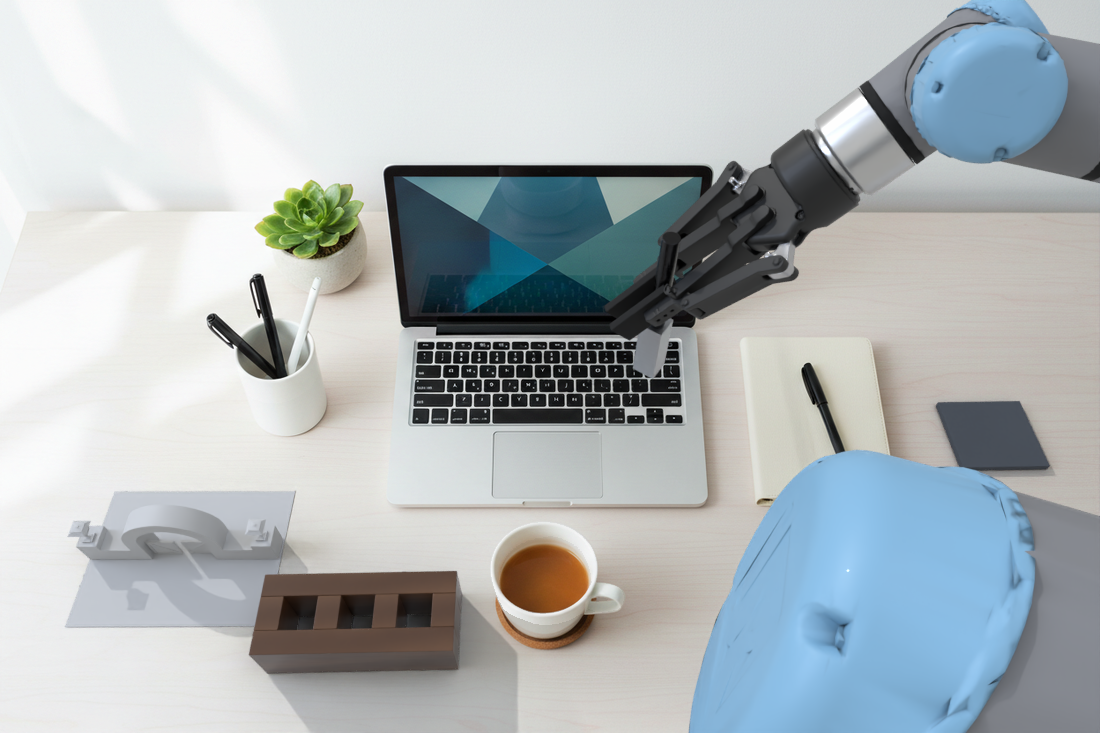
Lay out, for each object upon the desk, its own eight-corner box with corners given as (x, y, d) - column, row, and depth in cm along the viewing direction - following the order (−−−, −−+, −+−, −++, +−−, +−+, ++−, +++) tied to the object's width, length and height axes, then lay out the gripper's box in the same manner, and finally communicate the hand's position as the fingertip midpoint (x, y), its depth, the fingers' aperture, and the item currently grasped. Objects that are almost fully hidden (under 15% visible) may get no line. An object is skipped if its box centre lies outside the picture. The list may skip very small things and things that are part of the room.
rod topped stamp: (653, 379, 79) (677, 251, 65) (632, 368, 80) (652, 240, 65) (664, 363, 80) (691, 235, 66) (644, 353, 81) (666, 223, 67)
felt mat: (1046, 469, 89) (1050, 466, 89) (960, 471, 89) (963, 467, 88) (1016, 404, 95) (1019, 400, 94) (935, 405, 94) (937, 402, 94)
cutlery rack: (458, 669, 75) (453, 650, 71) (267, 674, 75) (248, 655, 70) (462, 593, 80) (457, 570, 75) (281, 596, 80) (264, 574, 75)
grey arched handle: (90, 559, 82) (52, 526, 75) (98, 539, 83) (61, 504, 77) (278, 559, 82) (256, 525, 75) (283, 538, 83) (261, 504, 77)
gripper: (896, 246, 60) (660, 398, 72) (824, 130, 69) (624, 283, 80) (853, 201, 55) (607, 372, 67) (782, 82, 64) (575, 252, 75)
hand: (617, 323), depth 73 cm, fingers closed on rod topped stamp, 1 cm apart
